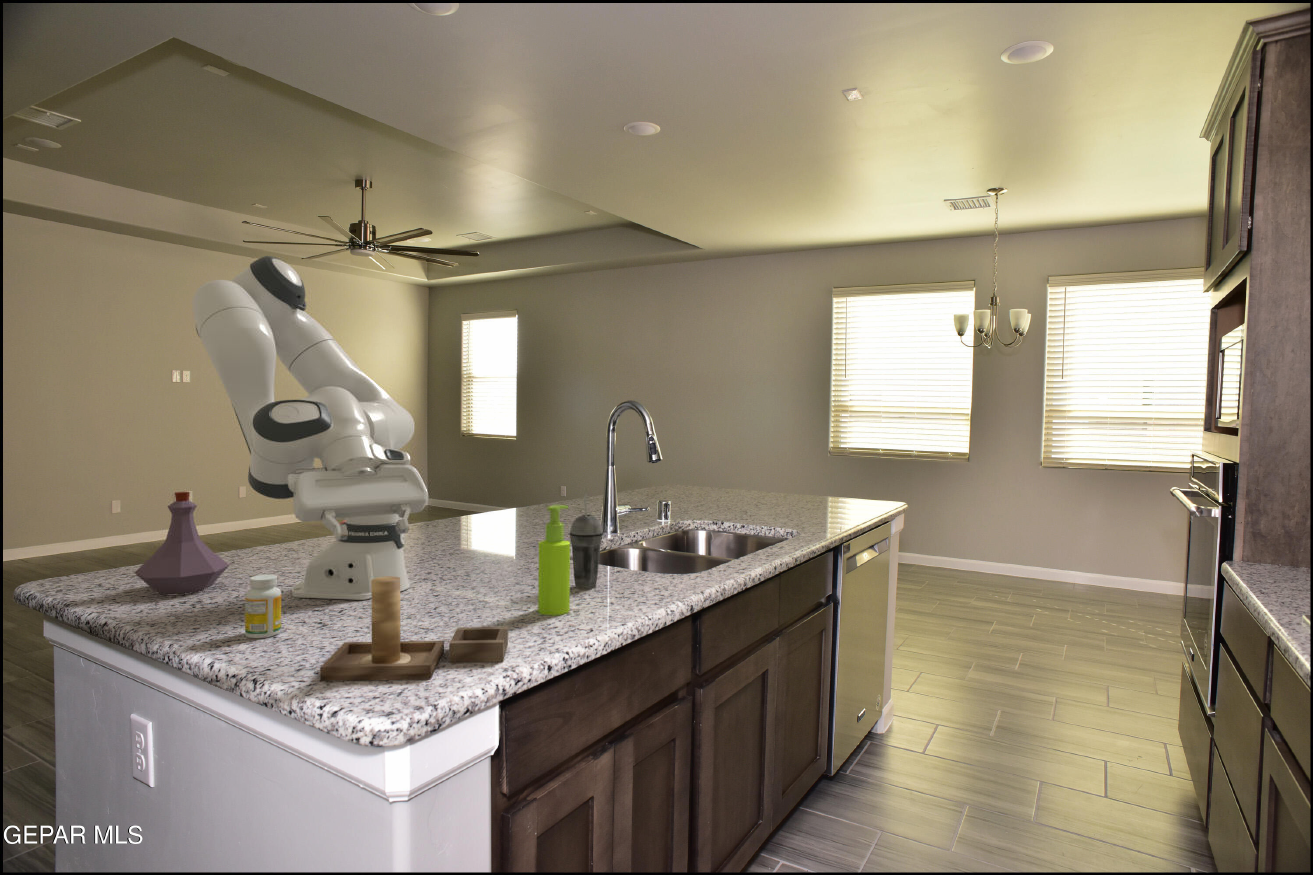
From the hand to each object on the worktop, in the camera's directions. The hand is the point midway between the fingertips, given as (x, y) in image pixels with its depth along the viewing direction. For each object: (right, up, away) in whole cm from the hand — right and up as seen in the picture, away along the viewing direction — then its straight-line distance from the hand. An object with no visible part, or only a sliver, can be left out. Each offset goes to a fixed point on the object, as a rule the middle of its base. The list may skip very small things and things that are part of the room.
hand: (374, 534), depth 115 cm
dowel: (+4, -18, -5) cm, 19 cm away
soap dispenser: (+25, -18, +26) cm, 40 cm away
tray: (+4, -19, -5) cm, 20 cm away
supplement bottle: (-22, -18, +9) cm, 30 cm away
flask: (-53, -16, +37) cm, 67 cm away
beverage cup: (+29, -17, +45) cm, 56 cm away
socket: (+16, -19, +1) cm, 25 cm away
